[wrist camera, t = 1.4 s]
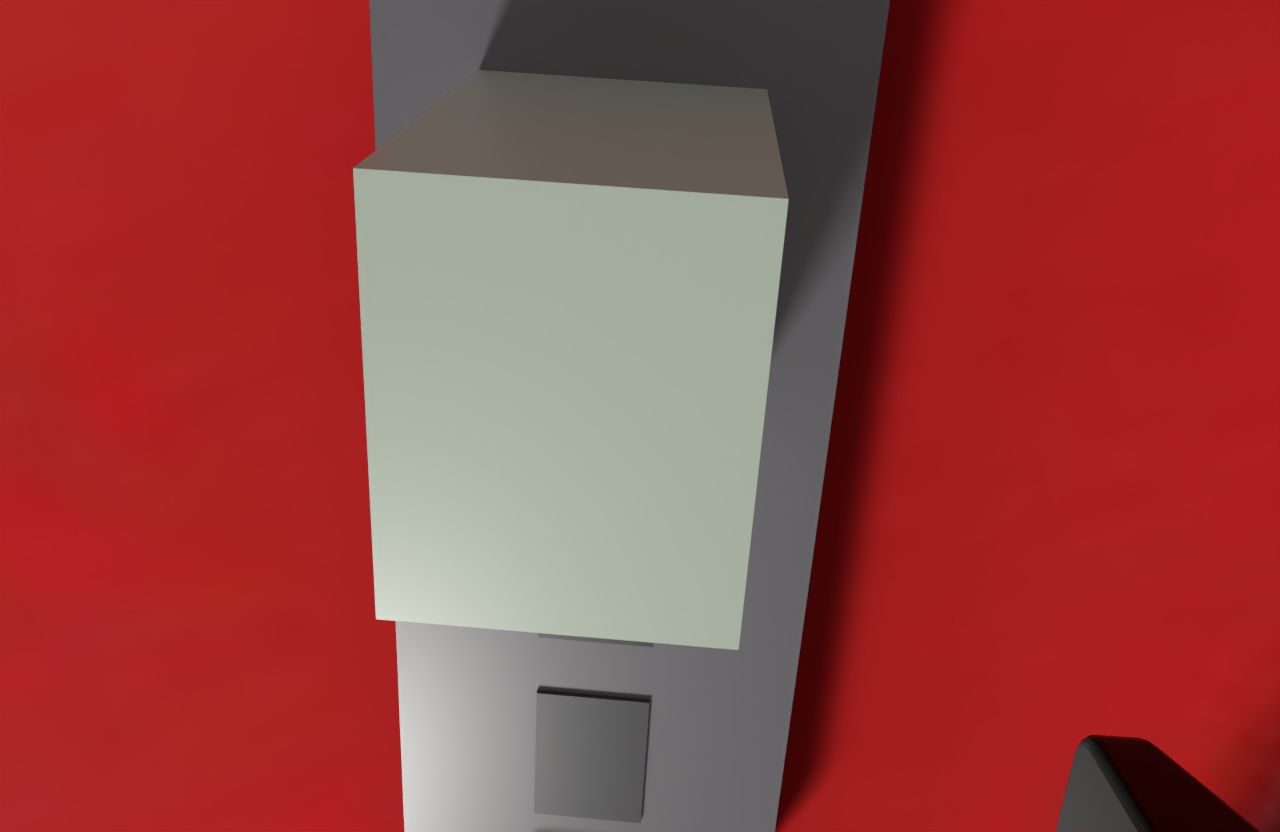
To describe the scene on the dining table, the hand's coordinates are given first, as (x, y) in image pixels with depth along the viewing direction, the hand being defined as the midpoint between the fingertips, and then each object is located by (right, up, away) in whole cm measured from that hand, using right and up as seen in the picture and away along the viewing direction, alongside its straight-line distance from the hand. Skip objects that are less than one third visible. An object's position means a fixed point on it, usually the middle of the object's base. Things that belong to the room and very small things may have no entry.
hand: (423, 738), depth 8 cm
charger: (+1, +5, +11) cm, 12 cm away
